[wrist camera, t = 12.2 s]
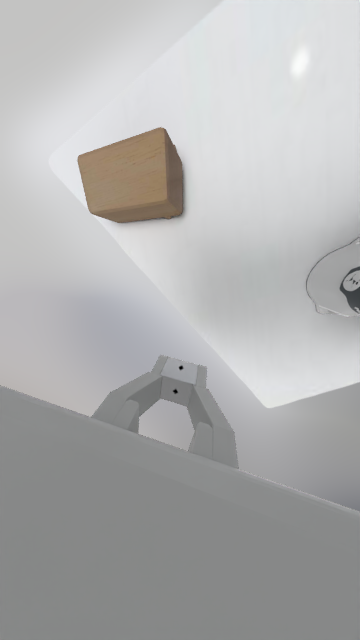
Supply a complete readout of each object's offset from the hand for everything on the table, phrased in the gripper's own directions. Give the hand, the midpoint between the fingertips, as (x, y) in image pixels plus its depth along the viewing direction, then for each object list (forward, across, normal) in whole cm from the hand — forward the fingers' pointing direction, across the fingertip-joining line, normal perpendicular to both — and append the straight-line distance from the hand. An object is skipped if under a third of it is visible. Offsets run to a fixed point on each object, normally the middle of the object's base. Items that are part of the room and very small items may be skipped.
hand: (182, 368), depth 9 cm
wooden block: (+30, +10, -20) cm, 37 cm away
